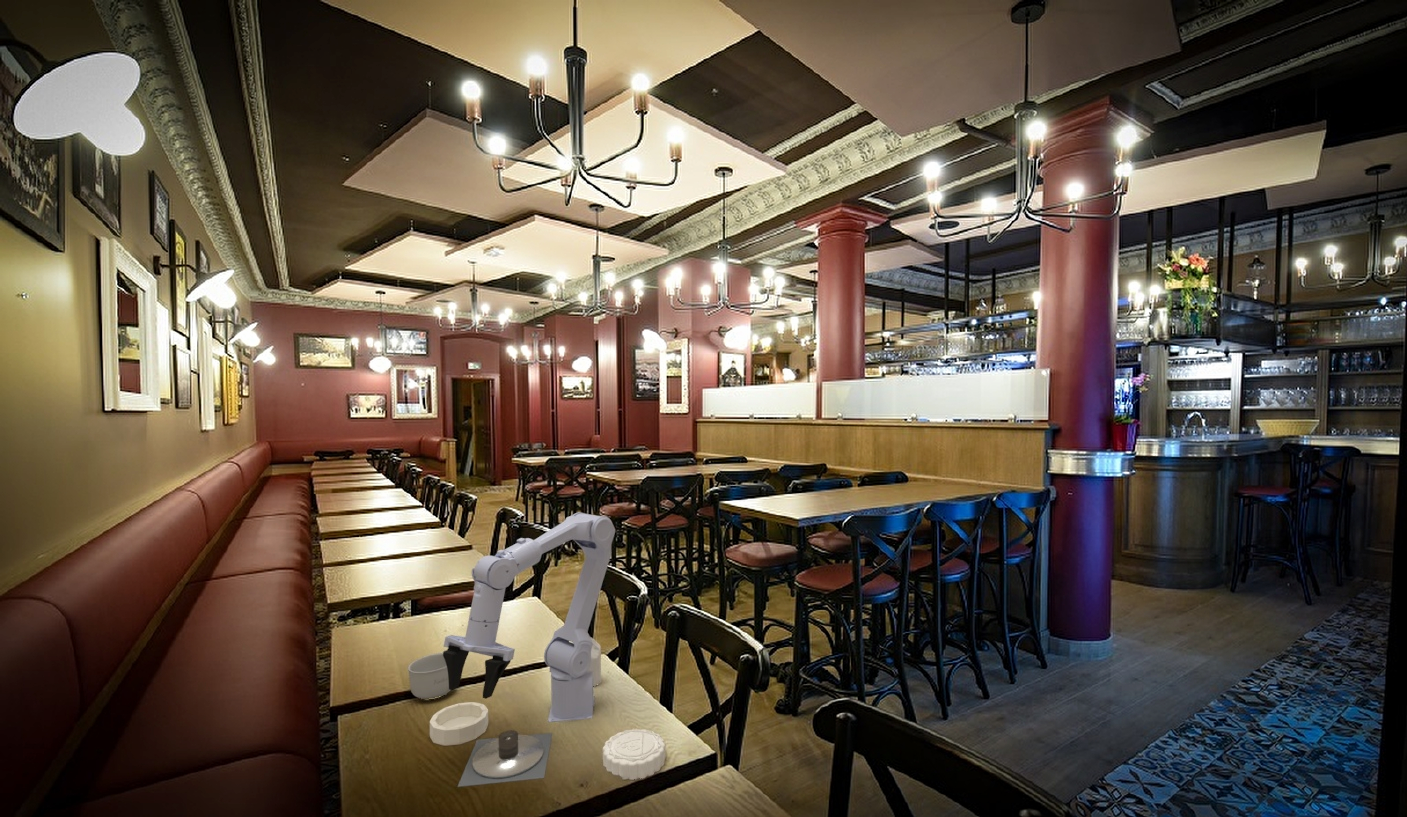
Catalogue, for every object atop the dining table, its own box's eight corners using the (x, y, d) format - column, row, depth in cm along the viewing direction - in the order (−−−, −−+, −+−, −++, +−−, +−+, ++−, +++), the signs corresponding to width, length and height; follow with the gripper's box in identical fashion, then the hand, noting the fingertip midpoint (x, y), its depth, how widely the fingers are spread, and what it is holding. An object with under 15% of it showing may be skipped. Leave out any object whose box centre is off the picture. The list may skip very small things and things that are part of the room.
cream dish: (492, 716, 129) (492, 700, 129) (481, 744, 118) (480, 727, 118) (439, 720, 127) (439, 704, 127) (423, 749, 117) (423, 732, 117)
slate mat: (552, 735, 121) (552, 733, 121) (543, 780, 107) (543, 778, 107) (477, 742, 119) (477, 739, 119) (457, 789, 104) (457, 786, 104)
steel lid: (547, 735, 120) (546, 715, 120) (539, 775, 107) (538, 751, 107) (480, 742, 118) (480, 721, 118) (464, 782, 105) (464, 759, 105)
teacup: (439, 707, 133) (438, 672, 133) (397, 703, 135) (397, 668, 135) (474, 679, 147) (474, 648, 147) (436, 676, 149) (436, 645, 149)
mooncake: (605, 745, 118) (605, 727, 118) (665, 742, 119) (665, 724, 119) (599, 783, 106) (599, 763, 106) (665, 779, 107) (665, 760, 107)
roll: (602, 630, 147) (598, 638, 142) (603, 677, 147) (599, 688, 142) (578, 630, 147) (574, 639, 142) (579, 677, 147) (574, 688, 142)
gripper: (439, 615, 113) (424, 689, 110) (504, 629, 109) (490, 706, 106) (463, 610, 119) (449, 681, 117) (525, 623, 116) (511, 696, 113)
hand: (470, 692), depth 112 cm, fingers open, 7 cm apart
